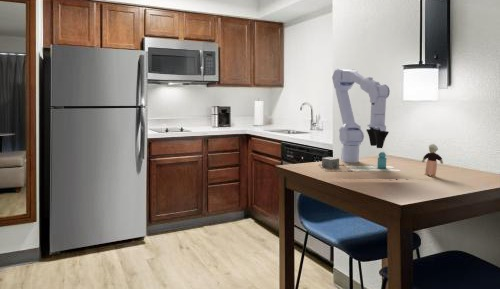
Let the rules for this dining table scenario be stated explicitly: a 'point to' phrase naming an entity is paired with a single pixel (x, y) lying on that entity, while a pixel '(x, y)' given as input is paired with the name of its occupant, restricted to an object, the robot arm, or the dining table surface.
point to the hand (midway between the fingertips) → (376, 146)
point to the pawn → (381, 161)
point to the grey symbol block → (330, 162)
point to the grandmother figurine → (432, 161)
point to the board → (365, 168)
